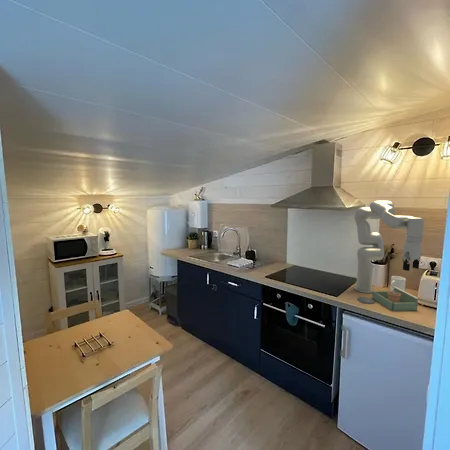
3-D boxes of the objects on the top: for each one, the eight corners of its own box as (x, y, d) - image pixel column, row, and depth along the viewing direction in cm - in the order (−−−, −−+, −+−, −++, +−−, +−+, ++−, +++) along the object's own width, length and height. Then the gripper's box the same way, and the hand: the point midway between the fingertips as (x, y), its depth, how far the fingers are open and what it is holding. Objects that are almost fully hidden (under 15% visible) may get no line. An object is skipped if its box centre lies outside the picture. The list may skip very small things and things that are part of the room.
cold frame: (372, 297, 177) (372, 286, 176) (394, 297, 178) (395, 286, 178) (392, 310, 158) (393, 298, 157) (417, 310, 159) (418, 298, 158)
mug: (384, 291, 189) (385, 277, 187) (395, 289, 193) (396, 275, 192) (396, 296, 181) (397, 280, 179) (407, 293, 186) (408, 278, 184)
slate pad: (354, 297, 177) (354, 297, 177) (368, 297, 177) (368, 296, 177) (363, 304, 167) (363, 303, 167) (378, 303, 167) (378, 302, 167)
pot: (384, 301, 172) (385, 291, 171) (394, 301, 172) (395, 290, 171) (391, 306, 164) (392, 295, 164) (402, 305, 165) (403, 295, 164)
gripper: (414, 237, 154) (411, 265, 157) (397, 239, 146) (395, 269, 148) (429, 239, 148) (426, 269, 150) (412, 241, 140) (409, 273, 142)
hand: (410, 269), depth 149 cm, fingers open, 9 cm apart
